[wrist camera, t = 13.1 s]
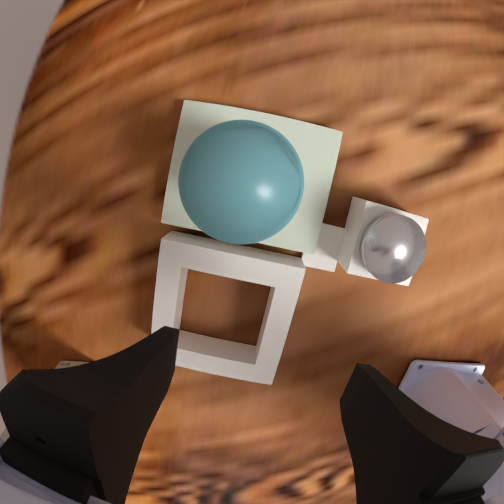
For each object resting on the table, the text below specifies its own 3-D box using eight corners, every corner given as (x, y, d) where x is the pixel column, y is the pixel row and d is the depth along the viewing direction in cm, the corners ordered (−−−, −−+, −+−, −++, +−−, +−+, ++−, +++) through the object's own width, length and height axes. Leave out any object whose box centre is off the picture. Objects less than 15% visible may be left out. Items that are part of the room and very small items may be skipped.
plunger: (408, 215, 20) (433, 224, 16) (392, 270, 21) (414, 288, 17) (356, 200, 20) (375, 207, 16) (341, 258, 21) (355, 276, 17)
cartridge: (294, 149, 19) (316, 134, 11) (278, 221, 20) (288, 256, 12) (219, 133, 18) (191, 110, 11) (205, 206, 20) (169, 230, 12)
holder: (408, 212, 20) (428, 219, 17) (351, 376, 24) (360, 399, 21) (184, 159, 20) (172, 158, 17) (159, 341, 23) (147, 362, 20)
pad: (339, 133, 19) (342, 132, 18) (311, 251, 21) (314, 254, 20) (187, 102, 19) (184, 99, 18) (165, 220, 21) (160, 222, 20)
